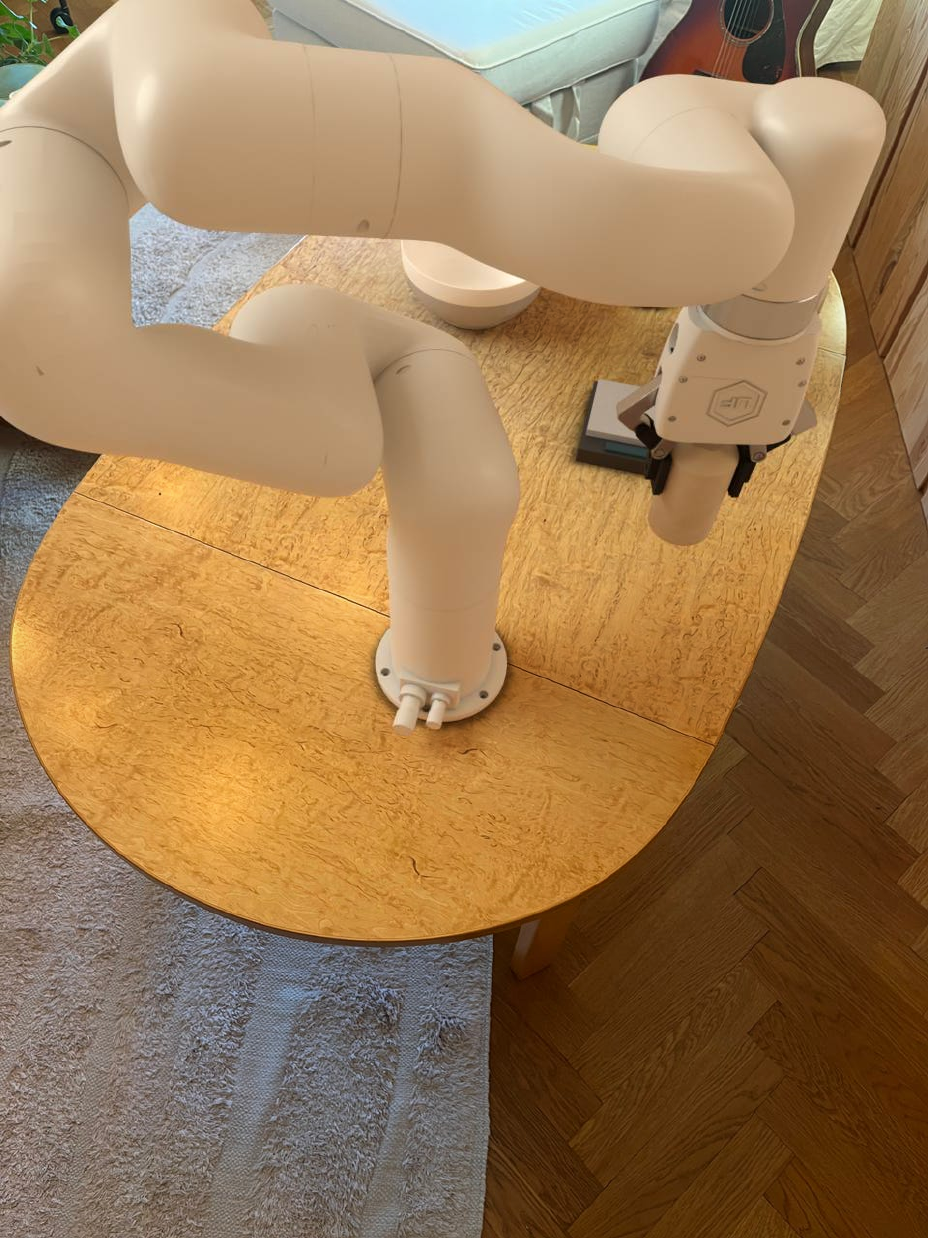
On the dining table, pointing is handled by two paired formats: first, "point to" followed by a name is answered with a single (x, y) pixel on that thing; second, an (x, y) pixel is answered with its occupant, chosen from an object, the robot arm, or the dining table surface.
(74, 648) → the dining table surface
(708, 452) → the candle
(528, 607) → the dining table surface
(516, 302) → the bowl
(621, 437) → the scale
